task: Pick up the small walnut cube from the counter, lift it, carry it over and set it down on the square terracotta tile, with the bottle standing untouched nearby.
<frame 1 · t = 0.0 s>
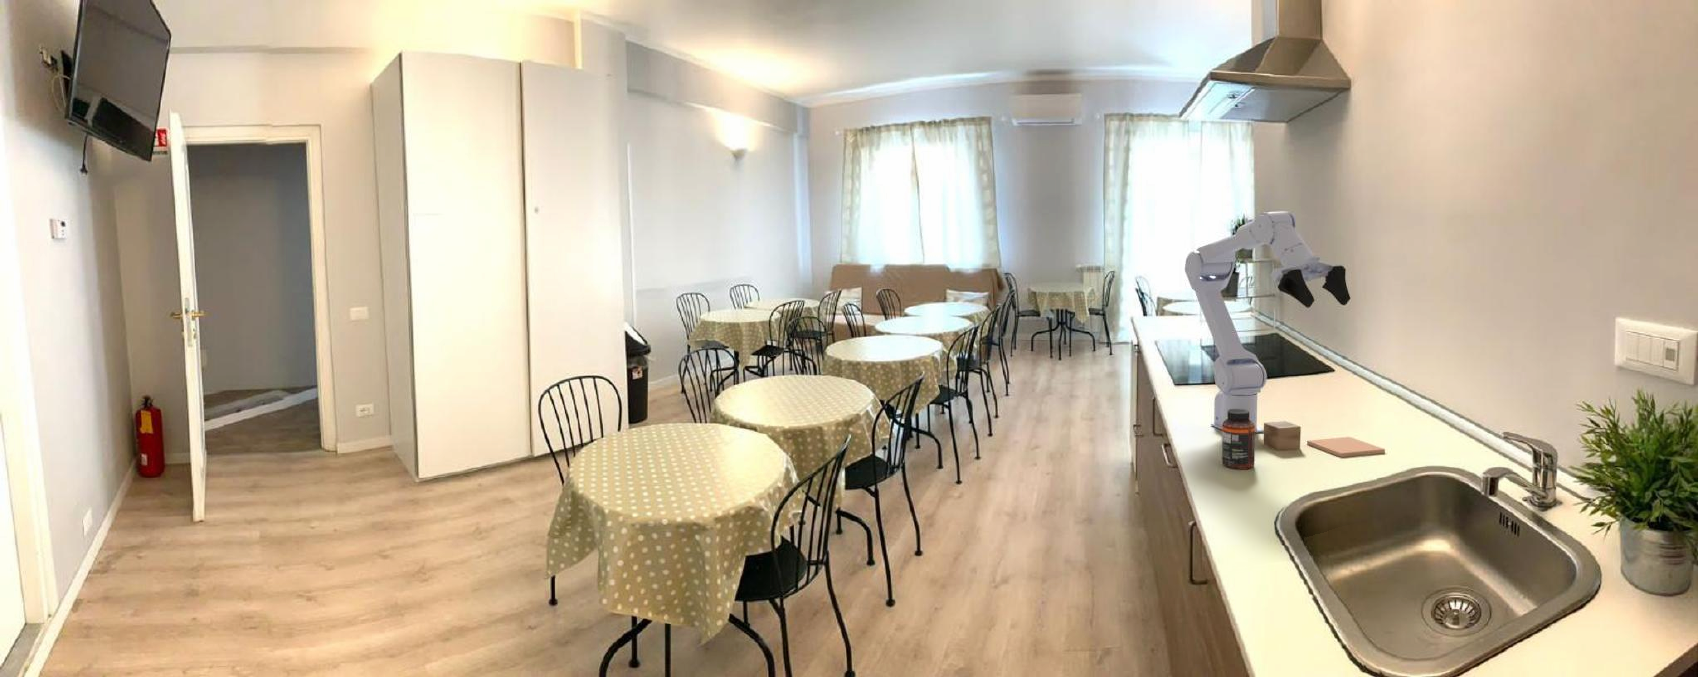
hand: (1328, 302, 161), 32 cm above the counter, tool tilted 50°, fingers open, 7 cm apart
terracotta tile: (1345, 448, 175), on the counter
supplement bottle: (1237, 466, 168), on the counter
walnut cube: (1281, 447, 179), on the counter
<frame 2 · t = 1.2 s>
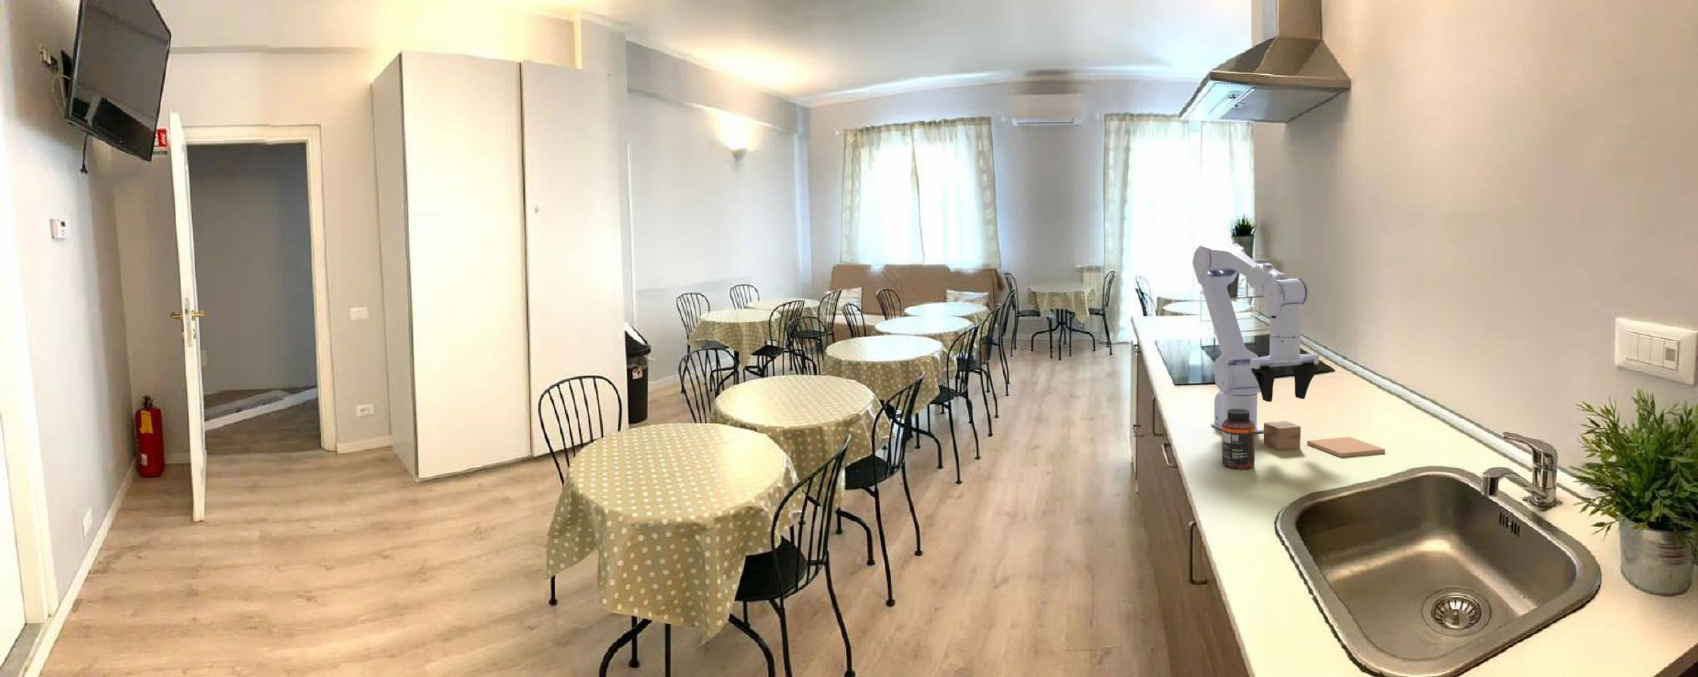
hand: (1283, 399, 177), 10 cm above the counter, tool pointing down, fingers open, 7 cm apart
nothing on the counter moved.
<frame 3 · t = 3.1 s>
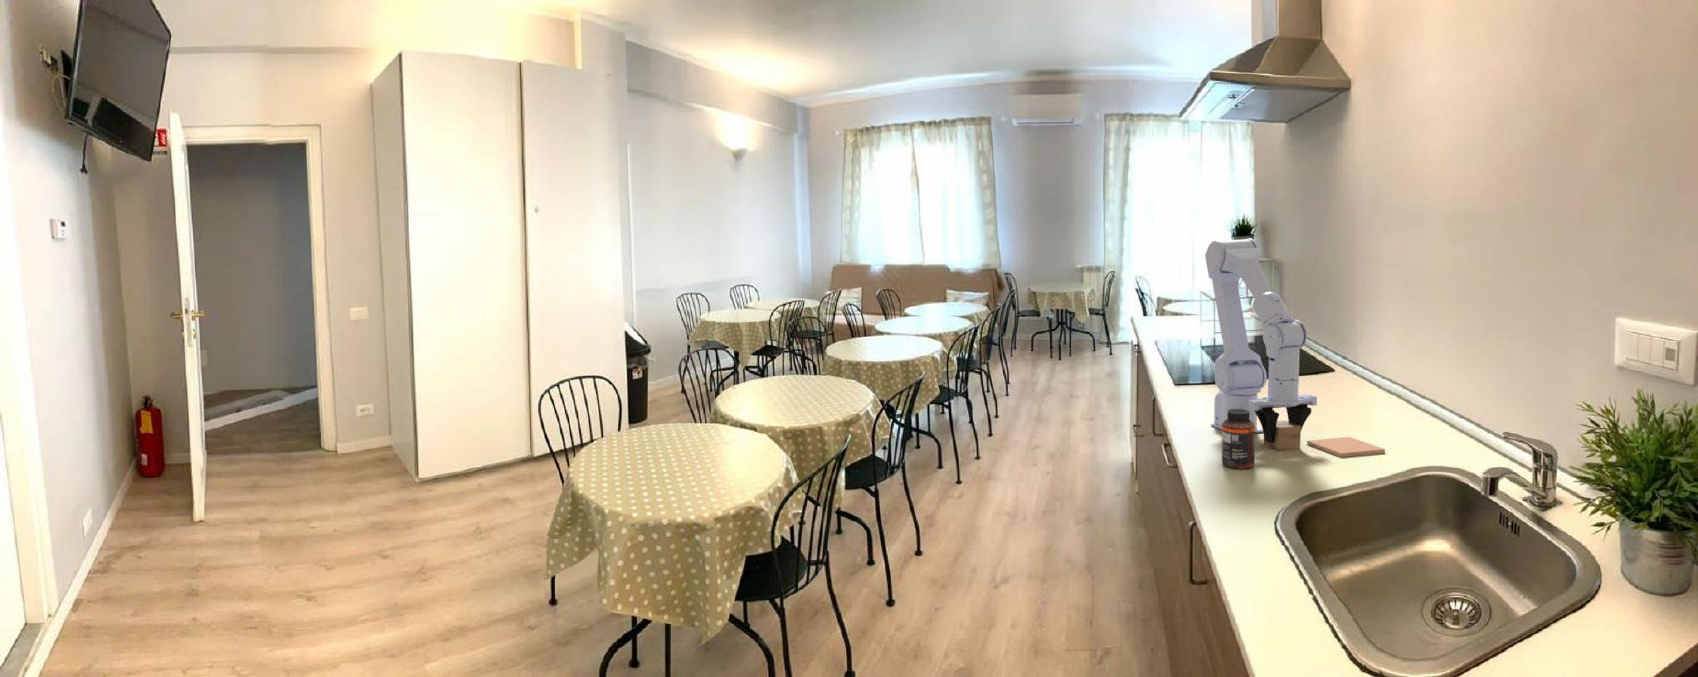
hand: (1281, 440, 178), 1 cm above the counter, tool pointing down, fingers closed on walnut cube, 5 cm apart
walnut cube: (1281, 446, 179), on the counter, touching gripper
everything else where it was.
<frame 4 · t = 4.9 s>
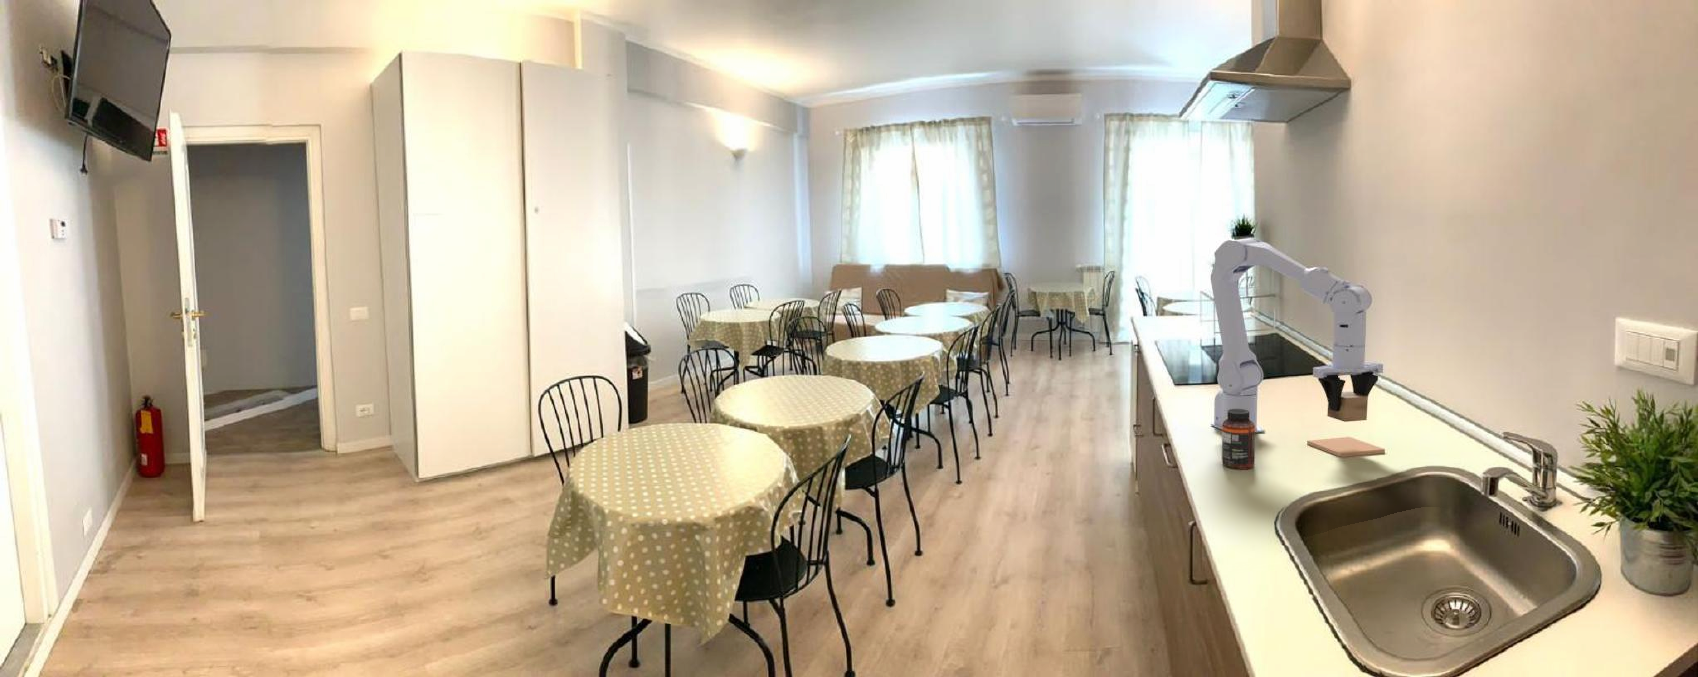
hand: (1346, 409, 174), 9 cm above the counter, tool pointing down, fingers closed on walnut cube, 5 cm apart
walnut cube: (1346, 418, 174), point 7 cm above the counter, touching gripper
everything else where it was.
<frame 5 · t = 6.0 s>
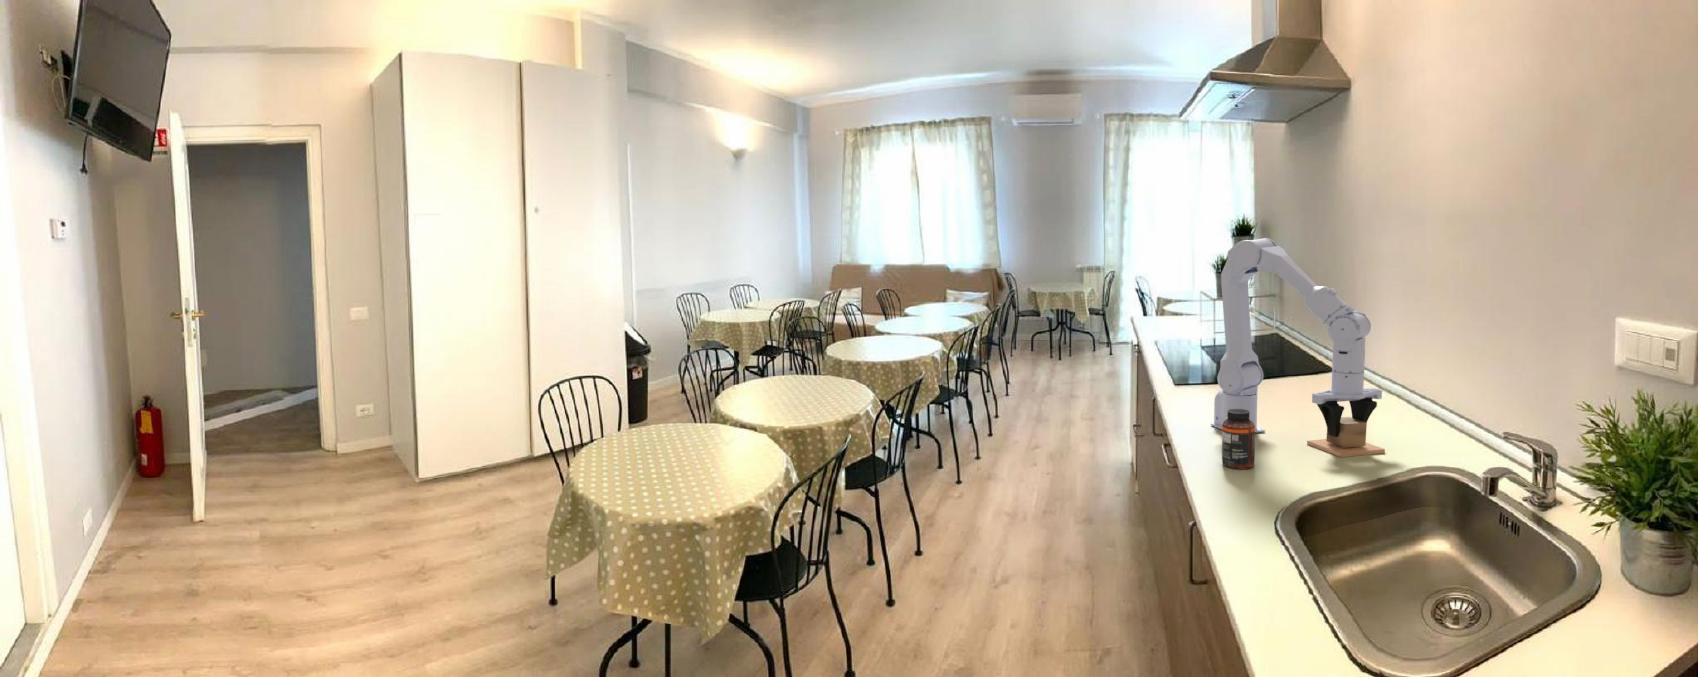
hand: (1345, 434, 175), 3 cm above the counter, tool pointing down, fingers closed on walnut cube, 5 cm apart
walnut cube: (1345, 443, 175), point 1 cm above the counter, touching gripper
everything else where it was.
when the fingers open (3 cm above the counter, at t = 6.7 s): walnut cube stays where it is, resting on terracotta tile.
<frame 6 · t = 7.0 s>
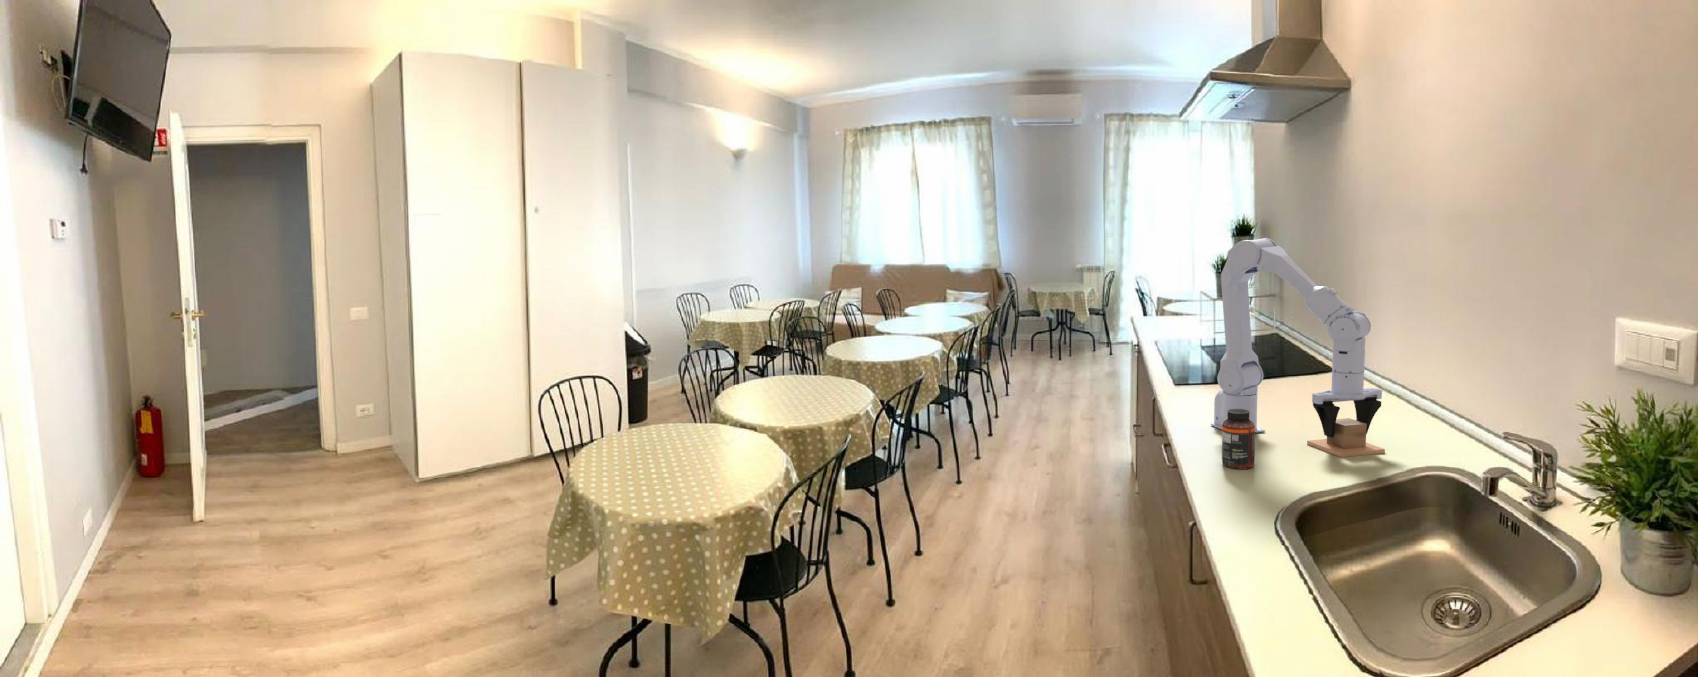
hand: (1345, 434, 175), 3 cm above the counter, tool pointing down, fingers open, 7 cm apart
walnut cube: (1345, 445, 175), point 1 cm above the counter, touching terracotta tile
everything else where it was.
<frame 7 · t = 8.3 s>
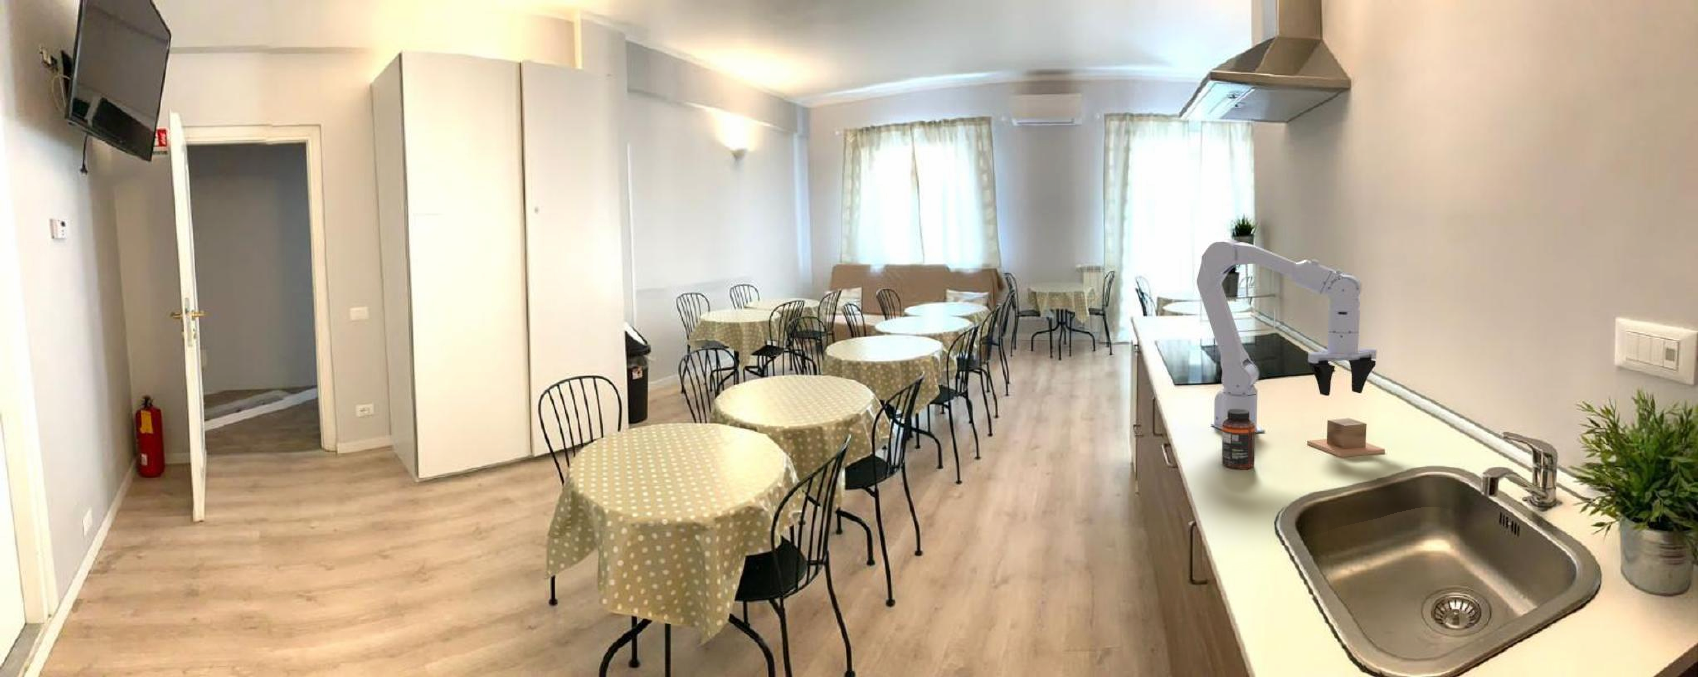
hand: (1340, 393, 180), 10 cm above the counter, tool pointing down, fingers open, 7 cm apart
nothing on the counter moved.
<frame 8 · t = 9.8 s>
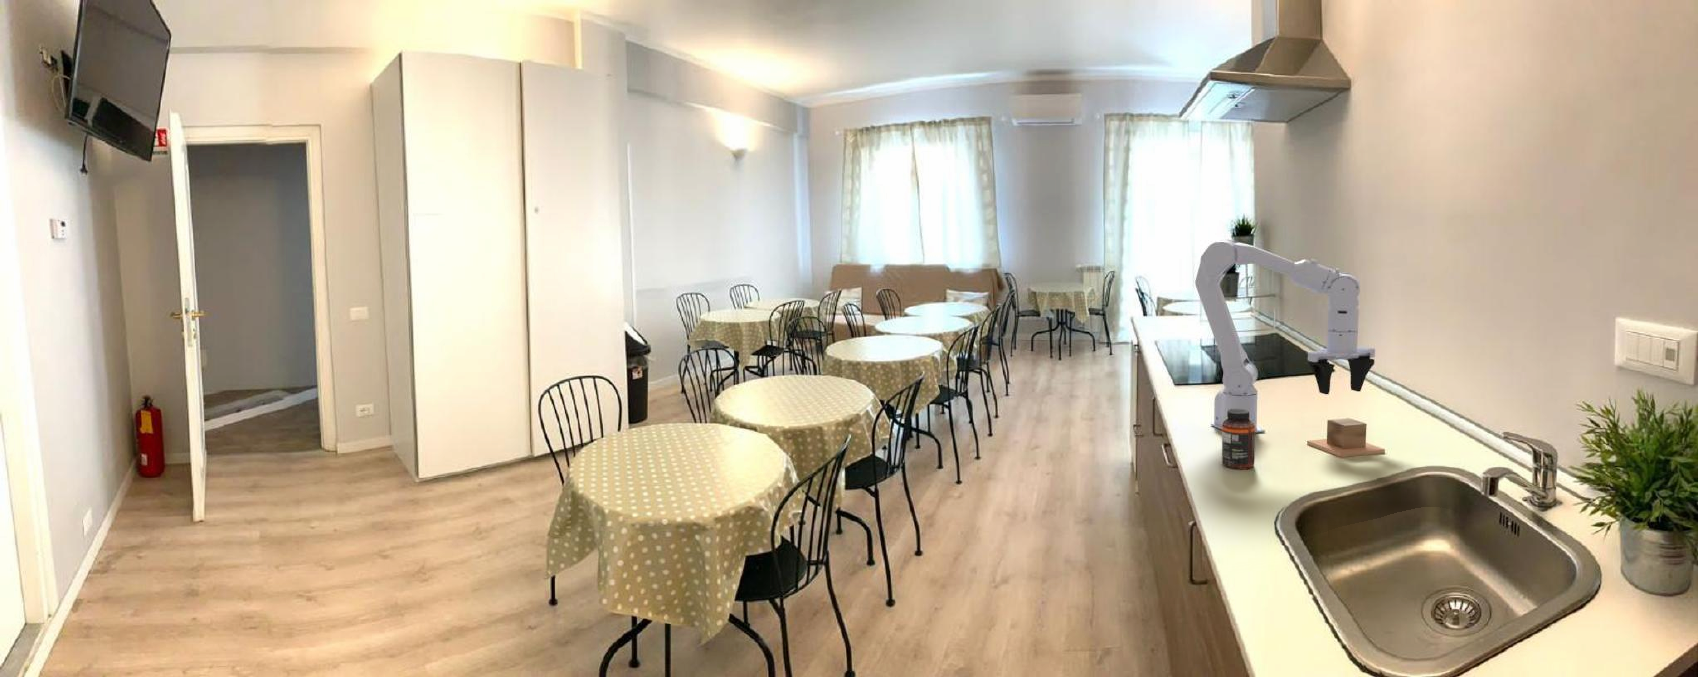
hand: (1340, 392, 181), 10 cm above the counter, tool pointing down, fingers open, 7 cm apart
nothing on the counter moved.
at the end: walnut cube inside the target area on the terracotta tile (0.2 cm from its centre), point 0.8 cm above the terracotta tile's base; walnut cube tilted 0°; the gripper is holding nothing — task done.
